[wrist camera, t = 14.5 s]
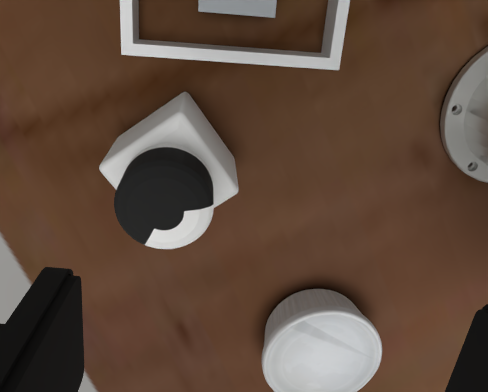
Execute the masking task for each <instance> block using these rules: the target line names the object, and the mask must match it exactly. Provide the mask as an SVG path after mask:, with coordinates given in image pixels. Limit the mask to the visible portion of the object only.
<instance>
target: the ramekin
mask: <svg viewBox="0 0 488 392" xmlns="http://www.w3.org/2000/svg"><path fill="white" fill-rule="evenodd" d="M381 357H382V343H381V339H380V337H379V334H378V332H377V330H376V328H375V327H374V325H373V324H372V323H371V322H370V321H369V320H368V319H367V318H366V317H365V316H364V315H362V313H361V312H360V311H359V310H358V308H357V307H356V306H355V305H354V304H353V303H352V302H351V301H350V300H349V299H348V298H347V297H345V296H343V295H342V294H340V293H337V292H335V291H331V290H326V289H308V290H303V291H300V292H297V293H295V294H292V295H291V296H289V297H287V298H286V299H284V300H283V301H282V302H281V303H280V304H278V305H277V307H276V308H275V309H274V310H273V312H272V313H271V315H270V317H269V318H268V320H267V324H266V327H265V339H264V348H263V352H262V368H263V373H264V376H265V379H266V381H267V383H268V384H269V386H270V387H271V388H272V389H273V390H274V392H357V391H358V390H360V389H361V388H362V387H363V386H364V385H365V384H367V382H369V380H370V379H371V378H372V377H373V375H374V374H375V372H376V371H377V369H378V367H379V365H380V362H381Z"/></svg>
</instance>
